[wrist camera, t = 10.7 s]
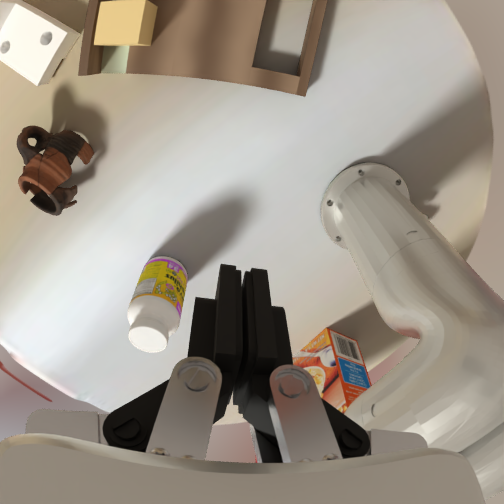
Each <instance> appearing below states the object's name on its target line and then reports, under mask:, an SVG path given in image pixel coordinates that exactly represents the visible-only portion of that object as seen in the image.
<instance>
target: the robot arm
mask: <svg viewBox="0 0 504 504" xmlns="http://www.w3.org/2000/svg"><path fill="white" fill-rule="evenodd" d="M360 169H361V171H360V172H358V171H359V170H360ZM396 180H397V181H396ZM328 200H330V201H329V202H327V201H328ZM321 220H322V224H323V227H324V229H325V231H326V233H327V234H328V236H329V237H330V239H331V240H332V241H333V242H334V243H335V244H337V245H339V246H340V247H342V248H345V249H347V250H349V252H350V254H351V256H352V258H353V260H354V262H355V264H356V266H357V268H358V270H359V272H360V274H361V276H362V278H363V280H364V282H365V284H366V286H367V289H368V291H369V293H370V295H371V297H372V299H373V301H374V303H375V306H376V308H377V310H378V312H379V314H380V316H381V317H382V319H383V320H384V322H385V323H386V324H387V325H388V326H389V327H390V328H391V329H393V330H394V331H396V332H398V333H400V334H402V335H405V336H408V337H412V338H416V339H420V341H419V343H418V344H417V346H416V347H415V348H414V349H413V350H412V351H411V352H410V353H409V354H408V355H407V356H406V357H404V359H403V360H402V361H401V362H400V363H399V364H398V365H396V366H395V367H394V368H393V369H392V370H390V371H389V372H388V373H387V374H386V375H384V376H383V377H382V378H381V379H379V380H378V381H377V382H376V383H374V384H373V385H372V386H371V387H369V388H368V389H367V390H366V391H364V392H363V393H362V394H361V395H360V396H358V397H357V398H356V399H355V400H354V401H353V402H352V403H351V404H350V406H349V407H348V408H347V410H346V411H345V413H344V414H343V413H342V412H340V411H339V410H337V409H336V408H335V407H333V406H332V405H331V404H329V403H328V402H327V401H325V400H324V399H323V398H321V397H320V394H319V391H318V389H317V386H316V383H315V381H314V379H313V377H312V375H311V374H310V373H309V372H308V371H307V370H305V369H303V368H302V367H299V366H296V365H293V359H292V352H291V346H290V340H289V333H288V327H287V321H286V315H285V310H284V308H283V307H276V306H271V297H270V289H269V281H268V273H267V270H264V269H256V268H251V271H250V272H248V271H245V274H244V279H243V283H242V285H241V270H236V266H233V265H226V264H221V265H220V271H219V277H218V284H217V290H216V296H215V299H207V298H199V297H196V298H195V305H194V312H193V319H192V326H191V334H190V341H189V349H188V357H187V358H185V359H182V360H181V361H179V362H178V363H177V364H176V365H175V367H174V369H173V371H172V374H171V377H170V379H169V380H167V381H165V382H163V383H162V384H160V385H158V386H157V387H155V388H153V389H152V390H150V391H148V392H146V393H145V394H143V395H141V396H139V397H138V398H136V399H134V400H132V401H131V402H129V403H127V404H125V405H123V406H122V407H120V408H118V409H116V410H114V411H113V412H111V413H110V414H98V412H87V411H65V410H51V409H39V410H36V411H35V412H33V413H32V414H31V415H30V416H29V417H28V420H27V423H26V433H25V434H19V435H15V436H11V437H8V438H5V439H4V440H2V441H1V442H0V504H485V500H487V499H489V498H491V497H492V496H494V495H496V494H498V493H500V492H501V491H503V490H504V300H503V299H502V298H501V297H500V296H499V295H498V294H497V293H495V292H494V290H493V289H492V288H491V287H490V286H488V285H487V284H486V283H485V281H483V280H482V279H481V278H480V276H479V275H478V274H477V273H476V272H475V271H474V270H473V269H472V268H471V267H470V265H469V264H468V263H467V262H466V261H465V260H464V259H463V258H462V256H461V255H460V254H459V253H458V252H457V251H456V250H455V248H454V247H453V246H452V245H451V244H450V243H449V242H448V241H447V239H446V238H445V237H444V236H443V235H442V234H441V233H440V232H439V231H438V230H437V229H436V228H435V226H434V225H433V224H432V223H431V222H430V221H429V220H428V216H427V215H424V214H422V213H421V212H420V211H419V210H418V209H417V208H416V207H415V206H414V205H413V204H412V203H411V202H410V194H409V191H408V187H407V185H406V183H405V182H404V180H403V179H402V178H401V176H400V175H399V174H398V173H397V172H395V171H394V170H393V169H391V168H389V167H387V166H386V165H382V164H379V163H362V164H358V165H355V166H352V167H350V168H348V169H346V170H344V171H343V172H342V173H340V174H339V175H338V176H337V177H336V178H335V179H334V180H333V181H332V182H331V183H330V185H329V186H328V188H327V190H326V192H325V194H324V197H323V199H322V204H321ZM232 392H233V405H238V410H239V413H240V414H243V418H244V419H245V420H247V421H248V422H249V423H250V431H251V436H252V441H253V445H254V450H255V454H256V459H257V463H238V462H219V461H206V460H205V458H206V453H207V448H208V444H209V439H210V434H211V430H212V425H213V424H214V423H215V422H217V421H218V420H219V419H221V418H222V417H223V416H224V414H225V411H226V407H227V404H229V402H230V399H231V395H232Z"/></svg>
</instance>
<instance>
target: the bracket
mask: <svg viewBox="0 0 504 504" xmlns="http://www.w3.org/2000/svg"><path fill="white" fill-rule="evenodd" d="M79 35H80V33H78V32H76V31H75V30H73V29H72V28H70V27H68V26H67V25H65V24H63V23H62V22H60V21H58V20H56V19H55V18H53V17H51V16H49V15H48V14H46V13H44V12H42V11H41V10H39V9H37V8H35V7H33V6H32V5H30V4H28V3H26V2H24V1H22V0H0V60H1V61H2V62H3V63H5V64H6V65H8V66H9V67H11V68H12V69H14V70H15V71H16V72H18V73H19V74H21V75H22V76H24V77H25V78H26V79H28V80H29V81H31V82H32V83H34V84H35V85H36V86H39V85H43V84H48V83H49V81H50V79H51V78H52V76H53V74H54V72H55V70H56V69H57V67H58V65H59V63H60V62H61V60H62V59H65V57H66V56H67V54H68V53H69V51H70V49H71V48H72V46H73V45H74V43H75V41H76V40H77V38H78V37H79Z"/></svg>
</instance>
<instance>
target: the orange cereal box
mask: <svg viewBox="0 0 504 504" xmlns="http://www.w3.org/2000/svg"><path fill="white" fill-rule="evenodd" d="M292 359H293V365H296V366H299V367H302V368H303V369H305V370H307V371H308V372H309V373H310V374H311V375H312V377H313V379H314V381H315V383H316V386H317V389H318V391H319V394H320V397H321V398H323V399H324V400H325V401H327V402H328V403H329V404H331V405H332V406H333V407H335V408H336V409H337V410H339V411H340V412H342V413H343V414H344V413H345V411H346V410H347V408H348V407H349V406H350V404H351V403H352V402H353V401H354V400H355V399H356V398H357V397H358V396H360V395H361V394H362V393H363V392H364V391H366V390H367V389H368V388H369V387H371V386H372V385H371V382H370V379H369V376H368V372H367V369H366V366H365V363H364V360H363V357H362V354H361V351H360V348H359V345H358V342H357V341H356V340H354V339H351V338H349V337H347V336H344V335H342V334H340V333H338V332H335V331H333V330H331V329H328V328H325V329H324V330H323V331H322V332H321V333H320V334H319V335H318V336H316V337H315V338H314V339H313V340H312V341H311V342H310V343H309V344H307V345H306V346H305V347H304V348H303V349H302V350H301V351H299V352H298V353H297V354H296V355H295V356H294V357H292ZM255 456H256V455H255ZM256 463H257V459H256Z"/></svg>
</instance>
